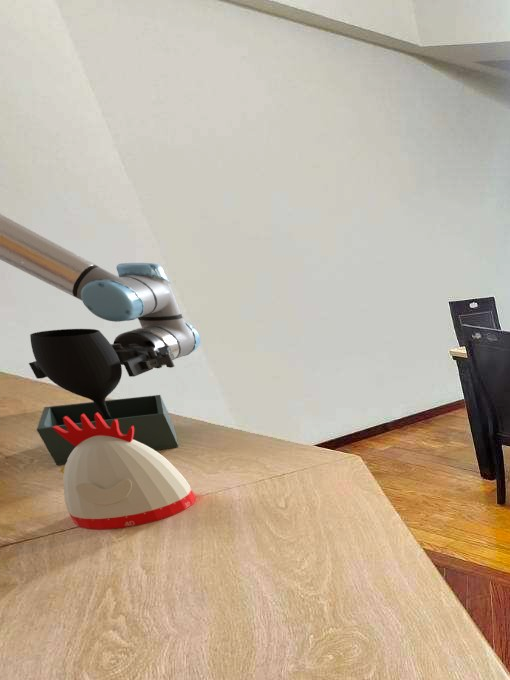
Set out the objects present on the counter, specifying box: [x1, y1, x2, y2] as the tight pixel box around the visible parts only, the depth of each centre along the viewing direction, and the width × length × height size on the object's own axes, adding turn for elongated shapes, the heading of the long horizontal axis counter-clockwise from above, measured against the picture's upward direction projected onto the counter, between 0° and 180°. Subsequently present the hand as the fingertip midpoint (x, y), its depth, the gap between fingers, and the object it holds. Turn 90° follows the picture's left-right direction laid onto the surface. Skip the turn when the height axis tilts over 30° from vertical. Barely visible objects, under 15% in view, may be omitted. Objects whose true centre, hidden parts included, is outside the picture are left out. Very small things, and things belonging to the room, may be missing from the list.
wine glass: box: [29, 328, 123, 420], centre depth 109 cm, size 10×10×20 cm
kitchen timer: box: [53, 412, 196, 530], centre depth 87 cm, size 14×14×15 cm
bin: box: [36, 394, 179, 466], centre depth 113 cm, size 17×17×7 cm
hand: (82, 370), depth 108 cm, fingers open, 13 cm apart
